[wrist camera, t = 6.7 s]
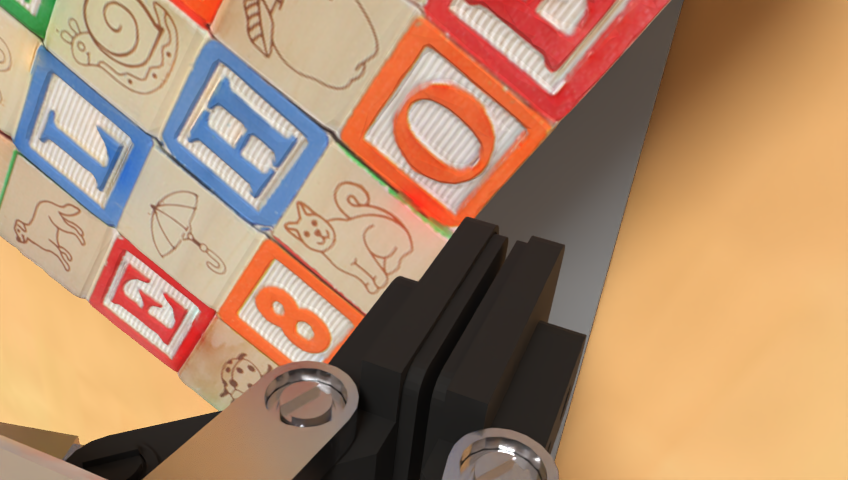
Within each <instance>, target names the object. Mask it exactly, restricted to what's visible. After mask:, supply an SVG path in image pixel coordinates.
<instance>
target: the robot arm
mask: <svg viewBox="0 0 848 480" xmlns="http://www.w3.org/2000/svg"><path fill="white" fill-rule="evenodd" d="M507 248H508V237H505V236H502V235H499V226H498V225H495V224H492V223H488V222H485V221H482V220H478V219H475V218H471V217H465V218H464V219H463V221H462V222H461V224H460V225H459V226H458V228H457V229H456V230H455V232H454V233H453V235H452V236H451V237H450V239H449V240H448V242H447V243H446V244H445V246H444V247H443V248H442V250H441V251H440V253H439V254H438V255H437V257H436V258H435V259H434V261H433V262H432V264H431V265H430V266H429V268H428V269H427V270H426V272H425V273H424V275H423V276H422V277H421V279H420V280H419V282H418V281H415V280H412V279H409V278H406V277H403V276H398V277H396V278H395V279H394V280H393V281H392V282H391V283H390V285H389V286H388V287H387V289H386V290H385V291H384V292H383V294H382V295H381V296H380V298H379V299H378V300H377V301H376V303H375V304H374V305H373V307H372V308H371V309H370V310H369V312H368V313H367V314H366V316H365V317H364V318H363V319H362V321H361V322H360V323H359V325H358V326H357V327H356V328H355V330H354V331H353V332H352V334H351V335H350V336H349V337H348V339H347V340H346V341H345V343H344V344H343V345H342V346H341V348H340V349H339V350H338V352H337V353H336V354H335V355H334V357H333V358H332V359H331V361H330V362H329V363H328V364H326V363H324V362H316V361H298V362H291V363H288V364H285V365H282V366H279V367H276V368H275V369H273V370H272V371H270V372H269V373H267V374H265V375H264V376H263V377H262V378H261V379H259V380H258V381H257V382H256V383H255V384H254V385H252V386H251V387H250V388H249V389H248V390H247V391H245V392H244V393H243V394H242V395H241V396H240V397H238V398H237V399H236V400H235V401H234V402H232V403H231V404H230V405H229V406H228V407H227V408H225V409H224V410H223V411H219V412H214V413H209V414H205V415H200V416H196V417H191V418H187V419H182V420H178V421H173V422H168V423H164V424H159V425H155V426H150V427H146V428H141V429H136V430H132V431H127V432H123V433H118V434H114V435H109V436H106V437H103V438H100V439H97V440H94V441H91V442H89V443H88V444H86V445H80V443H79V438H78V436H74V435H69V434H63V433H57V432H52V431H46V430H41V429H35V428H30V427H24V426H18V425H13V424H7V423H2V422H0V480H559V474H558V469H557V467H556V465H555V462H554V460H553V458H552V456H551V455H550V454H551V451H552V448H553V446H554V443H555V440H556V437H557V434H558V431H559V428H560V426H561V423H562V420H563V417H564V414H565V411H566V408H567V404H568V401H569V398H570V395H571V392H572V388H573V385H574V382H575V378H576V375H577V371H578V367H579V364H580V360H581V356H582V353H583V349H584V345H585V341H586V337H587V335H585V334H582V333H579V332H576V331H572V330H569V329H566V328H563V327H560V326H557V325H554V324H550V323H548V320H549V315H550V311H551V307H552V303H553V298H554V294H555V290H556V286H557V281H558V277H559V273H560V269H561V264H562V260H563V256H564V251H565V245H564V244H561V243H558V242H554V241H551V240H547V239H544V238H540V237H537V236H531V238H530V240H529V241H528V243H526V242H523V241H519V240H517V241H516V243H515V244H514V246H513V248H512V250H511V251H510V253H509V255H508V256H507V258H506V253H507ZM505 259H506V260H505Z"/></svg>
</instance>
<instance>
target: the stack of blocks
mask: <svg viewBox="0 0 848 480" xmlns="http://www.w3.org/2000/svg"><path fill="white" fill-rule="evenodd" d="M670 1H671V0H0V236H1V237H2V238H3V239H5V240H6V241H7V242H9V243H10V244H11V245H13V246H14V247H16V248H17V249H18V250H19V251H20V252H21V253H22V254H23V255H24V256H25V257H27V258H28V259H30V260H31V261H33V262H34V263H35V264H36V265H37V266H39V267H40V268H42V269H43V270H44V271H45V272H46V273H47V274H48V275H49V276H50V277H52V278H53V279H54V280H56V281H57V282H58V283H60V284H61V285H62V286H63V287H64V288H66V289H67V290H68V291H69V292H71V293H72V294H73V295H75V296H77V297H79V298H84V299H86V300H87V301H88V302H89V303H90V304H91V305H92V306H93V307H94V308H95V309H96V310H98V311H99V312H100V313H101V314H103V315H104V316H105V317H106V318H107V319H109V320H110V321H111V322H112V323H113V324H114V325H116V326H117V327H118V328H119V329H121V330H122V331H123V332H125V333H126V334H127V335H129V336H130V337H131V338H132V339H134V340H135V341H136V342H138V343H139V344H140V345H141V346H143V347H144V348H145V349H146V350H148V351H149V352H150V353H152V354H153V355H154V356H155V357H157V358H158V359H159V360H161V361H162V362H163V363H164V364H166V365H167V366H168V367H170V368H171V369H173V370H174V371H176V372H178V376H179V378H180V379H181V380H182V382H183V383H184V384H185V385H187V386H188V387H190V388H191V389H192V390H194V391H195V392H196V393H197V394H198V395H200V396H201V397H202V398H203V399H205V400H206V401H207V402H208V403H210V404H211V405H212V406H213V407H215V408H216V409H217V410H218V411H223V410H224V409H225V408H227V407H228V406H229V405H230V404H231V403H232V402H234V401H235V400H236V399H237V398H238V397H240V396H241V395H242V394H243V393H244V392H245V391H247V390H248V389H249V388H250V387H251V386H252V385H254V384H255V383H256V382H257V381H258V380H259V379H261V378H262V377H263V376H264V375H265V374H267V373H269V372H270V371H272V370H273V369H275V368H276V367H279V366H282V365H285V364H288V363H291V362H298V361H316V362H324V363H326V364H328V363H329V362H330V361H331V359H332V358H333V357H334V355H335V354H336V353H337V352H338V350H339V349H340V348H341V346H342V345H343V344H344V343H345V341H346V340H347V339H348V337H349V336H350V335H351V334H352V332H353V331H354V330H355V328H356V327H357V326H358V325H359V323H360V322H361V321H362V319H363V318H364V317H365V316H366V314H367V313H368V312H369V310H370V309H371V308H372V307H373V305H374V304H375V303H376V301H377V300H378V299H379V298H380V296H381V295H382V294H383V292H384V291H385V290H386V289H387V287H388V286H389V285H390V283H391V282H392V281H393V280H394V279H395V278H396V277H398V276H403V277H406V278H409V279H412V280H415V281H418V282H419V280H420V279H421V277H422V276H423V275H424V273H425V272H426V270H427V269H428V268H429V266H430V265H431V264H432V262H433V261H434V259H435V258H436V257H437V255H438V254H439V253H440V251H441V250H442V248H443V247H444V246H445V244H446V243H447V242H448V240H449V239H450V237H451V236H452V235H453V233H454V232H455V230H456V229H457V228H458V226H459V225H460V224H461V222H462V221H463V219H464V218H465V217H471V218H476V216H477V215H478V214H479V213H480V212H481V211H482V209H483V208H484V207H485V206H486V205H487V204H488V203H489V201H490V200H491V199H492V198H493V197H494V196H495V194H496V193H497V192H498V191H499V190H500V189H501V188H502V187H503V186H504V184H505V183H506V182H507V181H508V180H509V179H510V178H511V177H512V176H513V174H514V173H515V172H516V171H517V170H518V169H519V168H520V167H521V166H522V165H523V163H524V162H525V161H526V160H527V159H528V158H529V157H530V156H531V155H532V154H533V153H534V151H535V150H536V149H537V148H538V147H539V146H540V145H541V144H542V143H543V142H544V140H545V139H546V138H547V137H548V136H549V135H550V134H551V133H552V132H553V131H554V129H555V128H556V127H557V125H558V124H559V123H560V121H561V120H562V119H563V118H564V117H565V116H567V115H568V114H569V113H570V112H571V111H572V109H573V108H574V107H575V106H576V105H577V104H578V103H579V102H580V101H581V100H582V99H583V97H584V96H585V95H586V94H587V93H588V92H589V91H590V90H591V89H592V88H593V87H594V86H595V84H596V83H597V82H598V81H599V80H600V79H601V78H602V77H603V76H604V74H605V73H606V72H607V71H608V70H609V69H610V68H611V67H612V66H613V65H614V63H615V62H616V61H617V60H618V59H619V58H620V57H621V56H622V55H623V54H624V52H625V51H626V50H627V49H628V48H629V47H630V46H631V45H632V44H633V42H634V41H635V40H636V39H637V38H638V37H639V36H640V35H641V34H642V32H643V31H644V30H645V29H646V28H647V27H648V26H649V25H650V23H651V22H652V21H653V20H654V19H655V18H656V17H657V16H658V15H659V13H660V12H661V11H662V10H663V9H664V8H665V7H666V6H667V5H668V3H669V2H670Z"/></svg>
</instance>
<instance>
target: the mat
mask: <svg viewBox="0 0 848 480" xmlns="http://www.w3.org/2000/svg"><path fill="white" fill-rule="evenodd" d="M683 1H684V0H671V1H670V2H669V3H668V5H667V6H666V7H665V8H664V9H663V10H662V11H661V12H660V13H659V15H658V16H657V17H656V18H655V19H654V20H653V21H652V22H651V23H650V25H649V26H648V27H647V28H646V29H645V30H644V31H643V32H642V34H641V35H640V36H639V37H638V38H637V39H636V40H635V41H634V42H633V44H632V45H631V46H630V47H629V48H628V49H627V50H626V51H625V52H624V54H623V55H622V56H621V57H620V58H619V59H618V60H617V61H616V62H615V63H614V65H613V66H612V67H611V68H610V69H609V70H608V71H607V72H606V73H605V74H604V76H603V77H602V78H601V79H600V80H599V81H598V82H597V83H596V84H595V86H594V87H593V88H592V89H591V90H590V91H589V92H588V93H587V94H586V95H585V96H584V97H583V99H582V100H581V101H580V102H579V103H578V104H577V105H576V106H575V107H574V108H573V109H572V111H571V112H570V113H569V114H568V115H567V116H565V117H564V118H563V119H562V120H561V121H560V123H559V124H558V125H557V127H556V128H555V129H554V131H553V132H552V133H551V134H550V135H549V136H548V137H547V138H546V139H545V140H544V142H543V143H542V144H541V145H540V146H539V147H538V148H537V149H536V150H535V151H534V153H533V154H532V155H531V156H530V157H529V158H528V159H527V160H526V161H525V162H524V163H523V165H522V166H521V167H520V168H519V169H518V170H517V171H516V172H515V173H514V174H513V176H512V177H511V178H510V179H509V180H508V181H507V182H506V183H505V184H504V186H503V187H502V188H501V189H500V190H499V191H498V192H497V193H496V194H495V196H494V197H493V198H492V199H491V200H490V201H489V203H488V204H487V205H486V206H485V207H484V208H483V209H482V211H481V212H480V213H479V214H478V215H477V216H476V218H475V219H478V220H482V221H485V222H488V223H492V224H495V225H498V226H499V235H502V236H505V237H508V248H507V253H506V258H507V256H508V255H509V253H510V251H511V250H512V248H513V246H514V244H515V243H516V241H517V240H519V241H523V242H526V243H528V241H529V240H530V238H531V236H537V237H540V238H544V239H547V240H551V241H554V242H558V243H561V244H564V245H565V251H564V256H563V260H562V264H561V269H560V273H559V277H558V281H557V286H556V290H555V294H554V298H553V303H552V307H551V311H550V315H549V320H548V323H550V324H554V325H557V326H560V327H563V328H566V329H569V330H572V331H576V332H579V333H582V334H585V335H587V337H586V341H585V345H584V349H583V353H582V356H581V360H580V364H579V367H578V371H577V375H576V378H575V382H574V385H573V388H572V392H571V395H570V398H569V401H568V404H567V408H566V411H565V414H564V417H563V420H562V423H561V426H560V428H559V431H558V434H557V437H556V440H555V443H554V446H553V448H552V451H551V454H550V455H551V456H552V458H553V460H554V461H555V458H556V454H557V450H558V447H559V443H560V440H561V436H562V433H563V429H564V425H565V422H566V418H567V415H568V411H569V408H570V404H571V400H572V397H573V393H574V390H575V386H576V383H577V379H578V375H579V372H580V368H581V365H582V361H583V358H584V354H585V351H586V347H587V343H588V340H589V336H590V333H591V329H592V326H593V322H594V318H595V315H596V311H597V308H598V304H599V301H600V297H601V293H602V290H603V286H604V283H605V279H606V276H607V272H608V268H609V265H610V261H611V258H612V254H613V251H614V247H615V243H616V240H617V236H618V233H619V229H620V226H621V222H622V218H623V215H624V211H625V208H626V204H627V201H628V197H629V193H630V190H631V186H632V183H633V179H634V176H635V172H636V168H637V165H638V161H639V158H640V154H641V151H642V147H643V144H644V140H645V136H646V133H647V129H648V126H649V122H650V119H651V115H652V111H653V108H654V104H655V101H656V97H657V94H658V90H659V86H660V83H661V79H662V76H663V72H664V69H665V65H666V61H667V58H668V54H669V51H670V47H671V44H672V40H673V36H674V33H675V29H676V26H677V22H678V19H679V15H680V11H681V8H682V4H683ZM505 260H506V259H505Z"/></svg>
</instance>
